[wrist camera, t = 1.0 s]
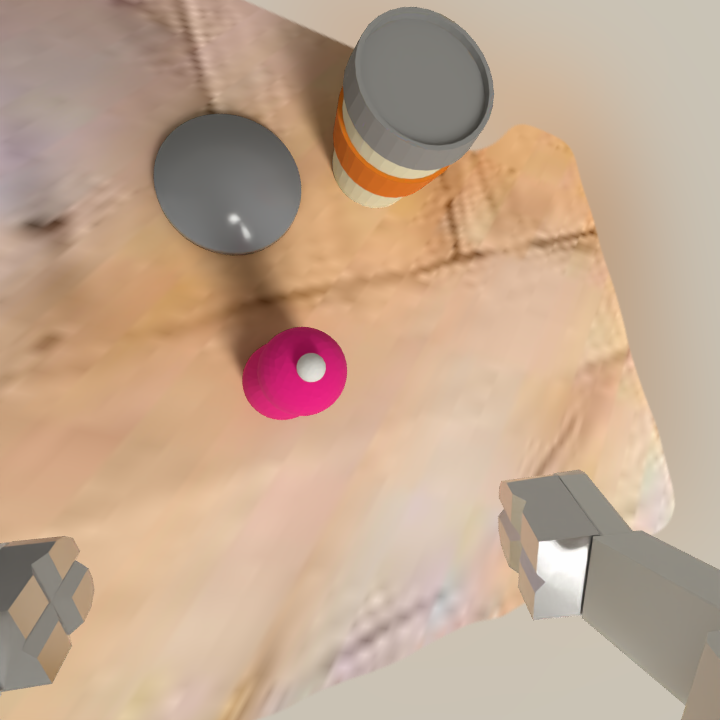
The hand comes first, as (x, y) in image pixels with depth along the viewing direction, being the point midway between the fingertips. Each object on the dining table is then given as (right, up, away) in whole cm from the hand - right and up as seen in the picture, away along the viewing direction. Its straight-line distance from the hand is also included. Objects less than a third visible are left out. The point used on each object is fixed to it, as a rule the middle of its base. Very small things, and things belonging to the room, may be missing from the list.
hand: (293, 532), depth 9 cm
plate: (-12, +21, +38) cm, 45 cm away
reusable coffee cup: (+3, +24, +43) cm, 49 cm away
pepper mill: (-7, +1, +38) cm, 39 cm away
